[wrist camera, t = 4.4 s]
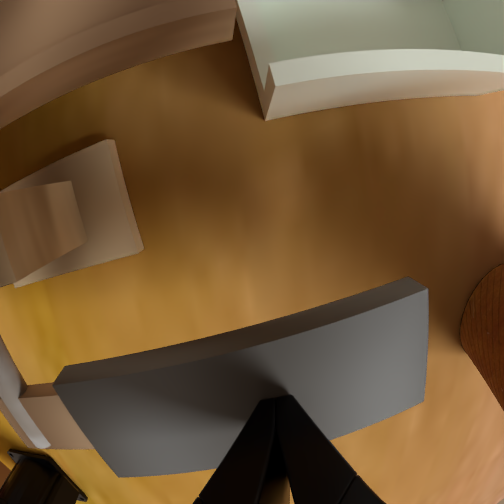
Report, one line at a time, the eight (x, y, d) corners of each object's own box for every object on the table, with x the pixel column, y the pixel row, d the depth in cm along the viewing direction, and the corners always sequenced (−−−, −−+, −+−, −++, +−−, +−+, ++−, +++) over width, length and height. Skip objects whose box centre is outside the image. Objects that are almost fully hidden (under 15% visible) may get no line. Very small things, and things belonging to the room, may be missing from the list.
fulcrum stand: (23, 283, 14) (-48, 330, 8) (-18, 68, 11) (-89, 54, 5) (144, 248, 14) (80, 303, 8) (91, -3, 10) (29, -56, 5)
